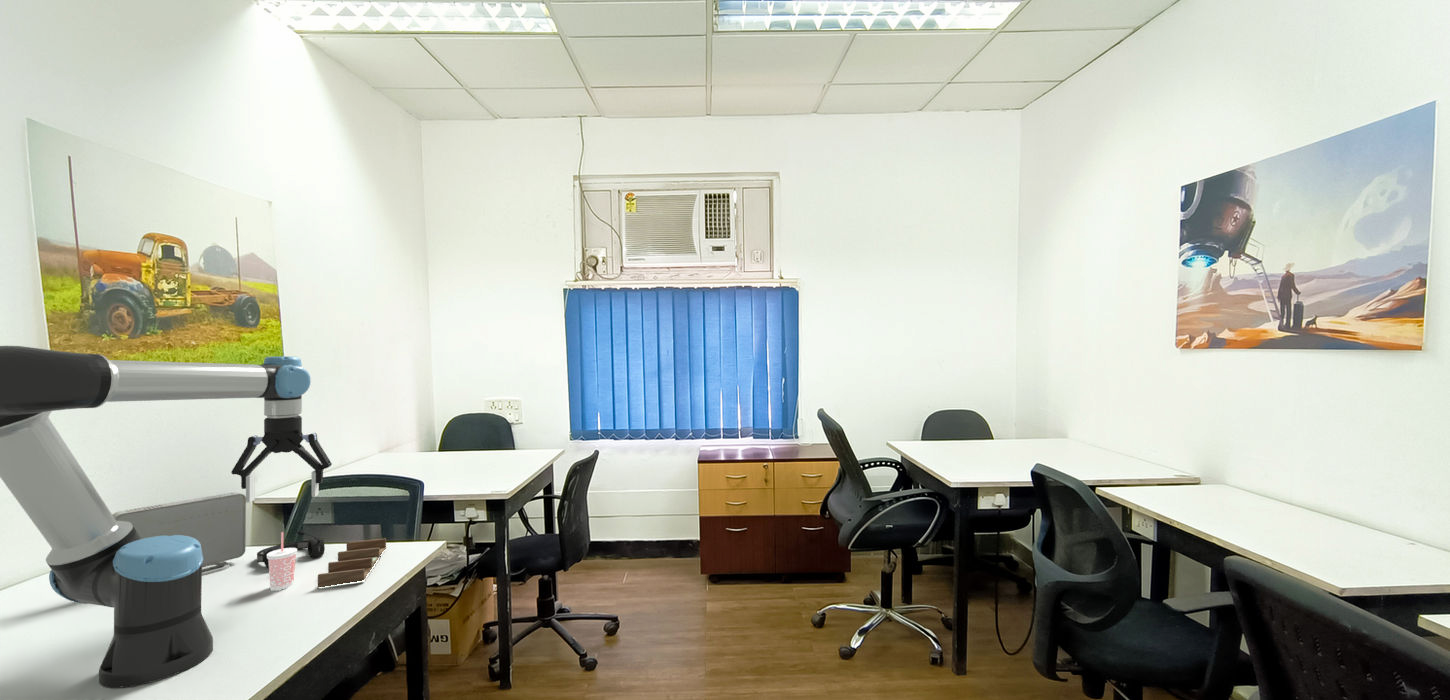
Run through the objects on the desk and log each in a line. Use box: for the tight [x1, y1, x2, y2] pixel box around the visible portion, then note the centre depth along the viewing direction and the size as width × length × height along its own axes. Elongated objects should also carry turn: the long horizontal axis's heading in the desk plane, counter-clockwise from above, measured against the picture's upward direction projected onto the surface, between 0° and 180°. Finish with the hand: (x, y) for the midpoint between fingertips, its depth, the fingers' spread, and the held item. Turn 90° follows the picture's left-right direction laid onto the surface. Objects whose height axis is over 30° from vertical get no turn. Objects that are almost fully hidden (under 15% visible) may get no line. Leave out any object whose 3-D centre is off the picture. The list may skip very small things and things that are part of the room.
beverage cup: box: [267, 531, 298, 591], centre depth 138 cm, size 6×6×14 cm
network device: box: [111, 491, 247, 577], centre depth 145 cm, size 26×9×20 cm, turn 148°
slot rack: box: [317, 537, 387, 588], centre depth 151 cm, size 26×10×4 cm, turn 21°
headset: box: [256, 530, 326, 569], centre depth 157 cm, size 14×10×20 cm
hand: (283, 498), depth 139 cm, fingers open, 13 cm apart
